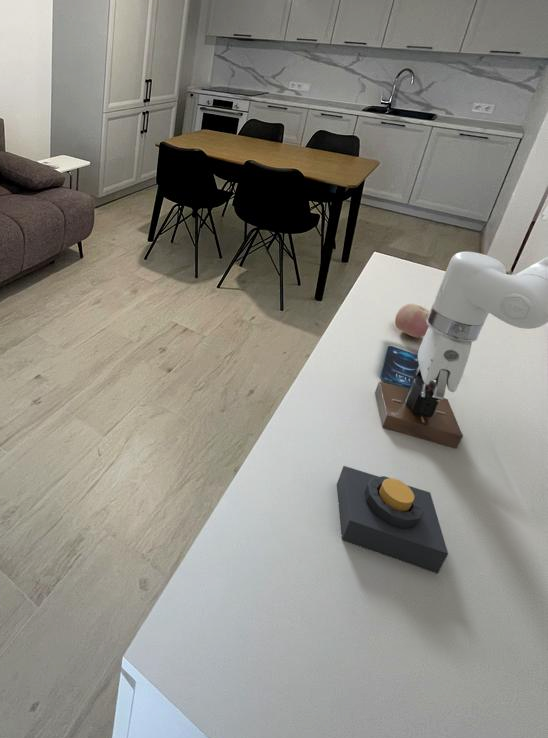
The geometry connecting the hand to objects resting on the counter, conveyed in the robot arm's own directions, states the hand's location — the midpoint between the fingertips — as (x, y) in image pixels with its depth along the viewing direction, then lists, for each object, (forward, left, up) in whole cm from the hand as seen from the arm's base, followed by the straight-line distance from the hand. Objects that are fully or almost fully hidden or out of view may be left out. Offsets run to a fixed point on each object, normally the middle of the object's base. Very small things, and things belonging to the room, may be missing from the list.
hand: (419, 403), depth 92 cm
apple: (-5, -32, -4) cm, 33 cm away
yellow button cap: (+9, +27, +2) cm, 29 cm away
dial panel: (0, 0, -4) cm, 4 cm away
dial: (0, 0, -1) cm, 1 cm away
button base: (+9, +27, -4) cm, 29 cm away
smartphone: (-1, -16, -4) cm, 16 cm away
